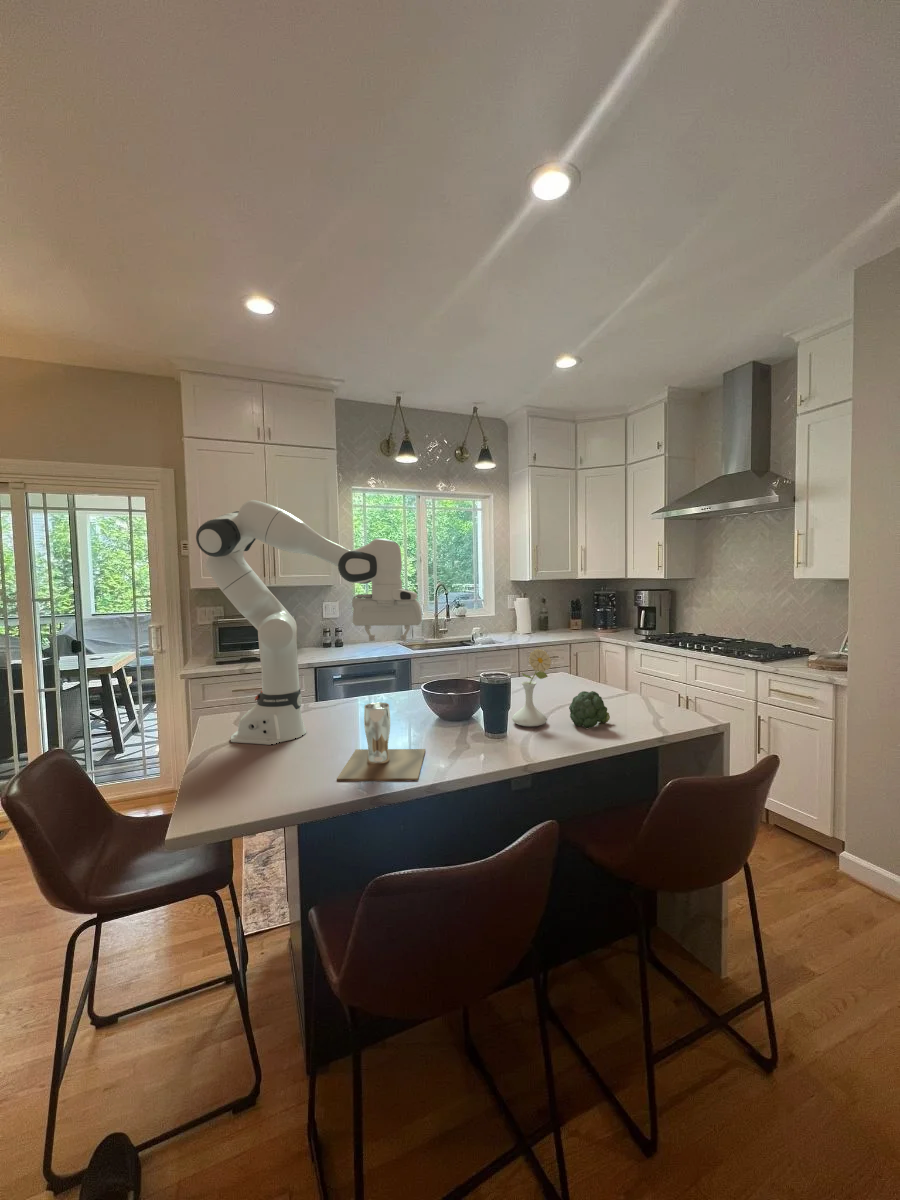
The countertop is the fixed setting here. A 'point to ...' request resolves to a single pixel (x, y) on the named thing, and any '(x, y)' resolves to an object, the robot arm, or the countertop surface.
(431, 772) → the countertop surface
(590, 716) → the vegetable
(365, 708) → the beer glass
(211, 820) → the countertop surface
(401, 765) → the tan wooden board
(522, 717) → the flower in vase
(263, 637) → the robot arm
